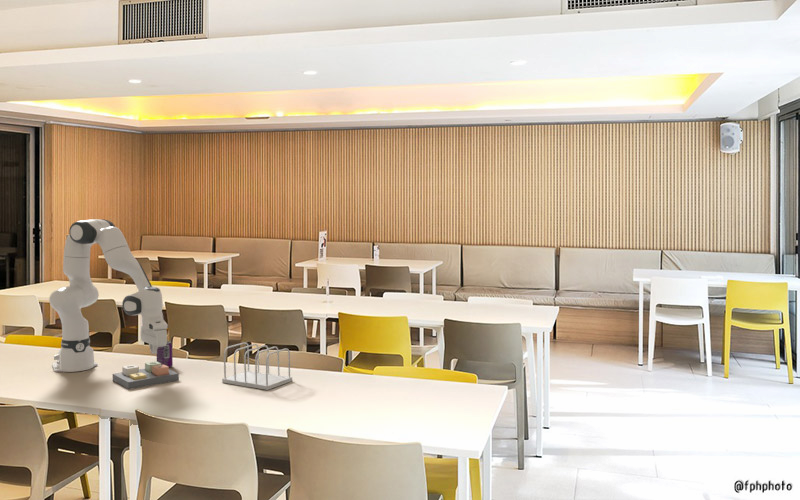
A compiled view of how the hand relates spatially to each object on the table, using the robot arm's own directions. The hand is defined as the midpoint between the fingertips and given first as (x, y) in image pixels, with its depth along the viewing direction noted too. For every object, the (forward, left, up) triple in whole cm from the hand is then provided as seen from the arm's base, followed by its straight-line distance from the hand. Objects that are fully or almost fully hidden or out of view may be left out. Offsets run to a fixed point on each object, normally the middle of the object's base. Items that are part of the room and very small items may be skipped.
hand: (153, 353), depth 302 cm
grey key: (0, -10, -8) cm, 13 cm away
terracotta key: (+8, 0, -8) cm, 11 cm away
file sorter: (+37, +30, -11) cm, 49 cm away
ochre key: (+8, -10, -10) cm, 16 cm away
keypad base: (+4, -5, -10) cm, 12 cm away
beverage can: (-13, +11, -11) cm, 20 cm away
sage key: (0, 0, -8) cm, 8 cm away
